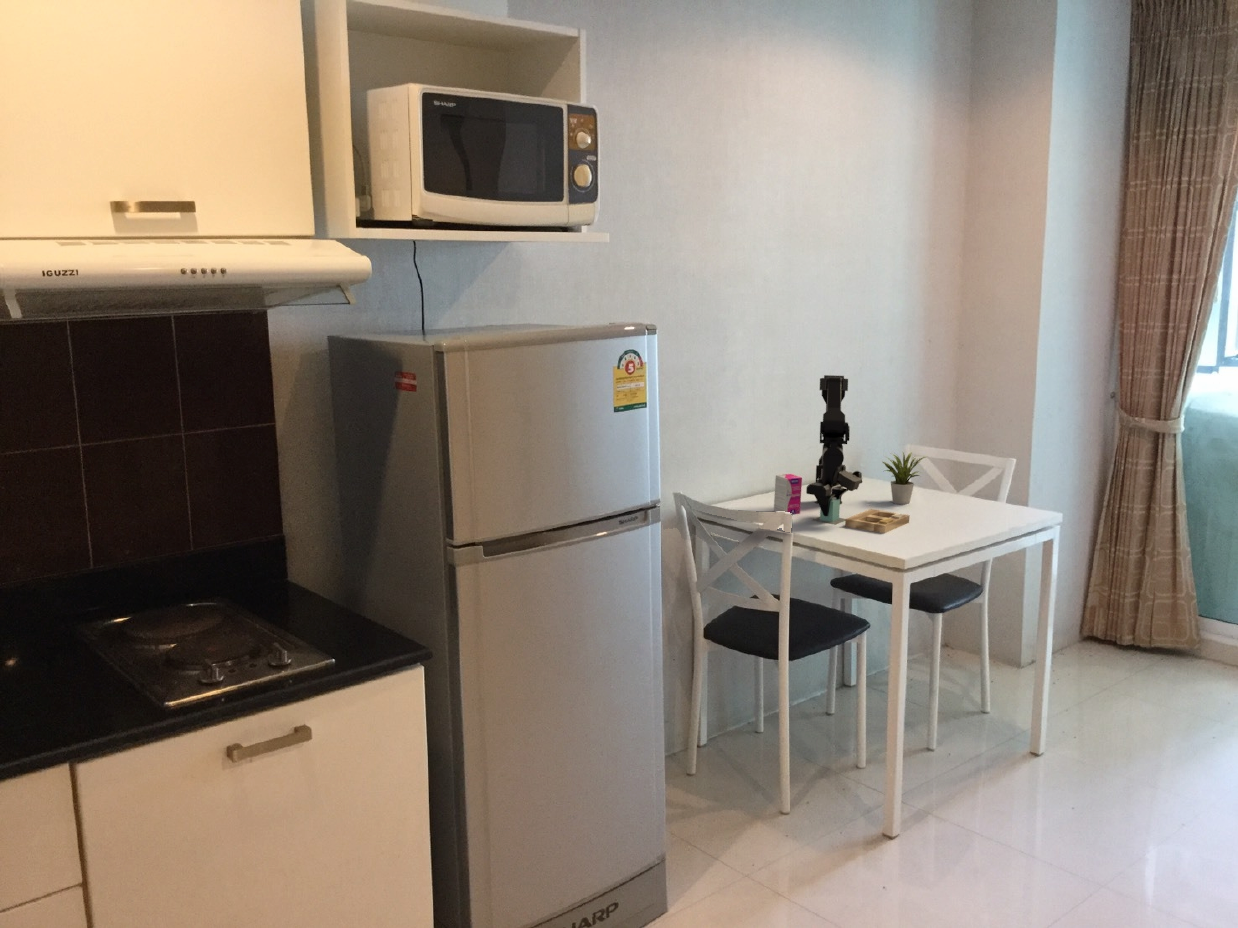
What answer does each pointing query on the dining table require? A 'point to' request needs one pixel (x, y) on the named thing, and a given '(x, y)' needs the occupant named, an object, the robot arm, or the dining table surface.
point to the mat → (828, 521)
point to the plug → (832, 511)
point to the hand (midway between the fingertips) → (829, 514)
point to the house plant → (902, 479)
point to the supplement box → (788, 493)
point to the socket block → (877, 521)
